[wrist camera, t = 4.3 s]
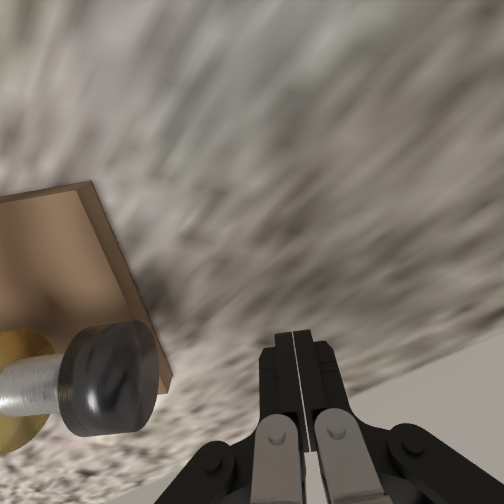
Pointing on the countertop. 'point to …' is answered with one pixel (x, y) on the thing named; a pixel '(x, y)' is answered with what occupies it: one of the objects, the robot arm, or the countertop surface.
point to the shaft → (77, 382)
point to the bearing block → (65, 268)
